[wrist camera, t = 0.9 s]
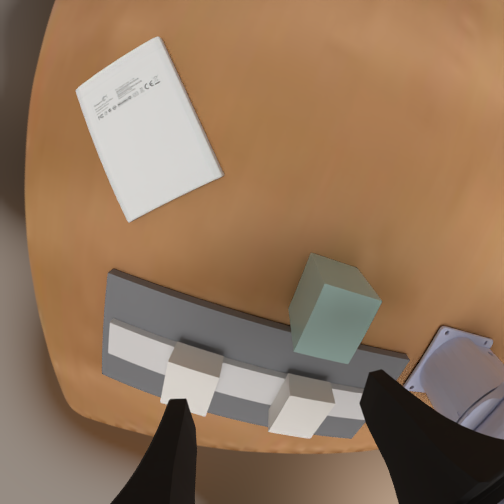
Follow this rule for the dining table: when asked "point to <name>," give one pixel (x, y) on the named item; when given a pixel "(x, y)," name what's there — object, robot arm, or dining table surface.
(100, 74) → the external hard drive
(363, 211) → the dining table surface
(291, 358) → the rail board
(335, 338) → the block
